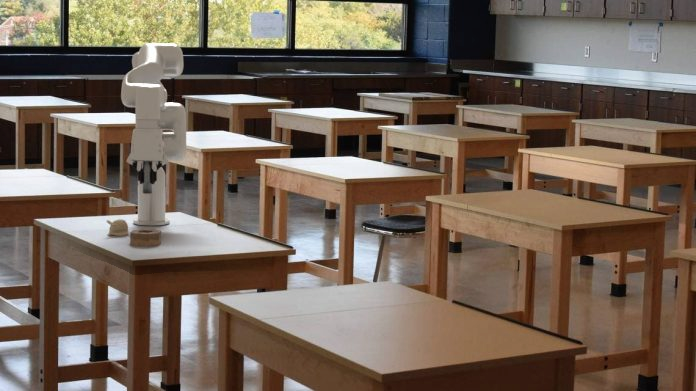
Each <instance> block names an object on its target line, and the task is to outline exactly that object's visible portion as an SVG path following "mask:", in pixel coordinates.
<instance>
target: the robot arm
mask: <svg viewBox="0 0 696 391" xmlns="http://www.w3.org/2000/svg"><path fill="white" fill-rule="evenodd" d="M131 64H132V69H131V70H130V71H128V72H127V73H126V74H125V76H124V77H123V79H122V81H121V82H122V83H121V93H120V99H121V102H122V104H123V105H124V106H125V107H127V108H135V128H133V131H132V135H131V144H130V153H129V155H128V157H127V159H126V163H128V164H129V165H131V166H133V167H134V169H135V170H137V218H134V219H133V224H134V225H137V226H139V225H140V226H149V227H150V226H155V227H156V226H164V225H168V224H170V223H171V221H170V219H169V218H166V172H165V170H164V169H163V166H164V165H167V164H169V162H180V161H183V160H184V159H185V158H186V154H187V112H186V108H185V106H184V105H183V104H181V103H179V102H167V101H168V92H167V89H166V88H165V87H164V85H163V83H162V82H161V80H162V79H163V77H172V78H173V77H180V76H181V74H183V72H184V71H183V70H184V54H183V50H182V48H181V47H180V46H179V45H178V44H175V43H167V42H166V43H163V42H162V43H161V42H158V43H156V42H151V43H149V42H148V43H145V44H143V45H142V46H141V47H140V48H139V51H137V52H135V53H134V54H133V55H132V58H131ZM164 131H172V133H164ZM143 161H152V172H151V184H152V193H151V194H144V193H143Z"/></svg>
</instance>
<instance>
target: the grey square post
mask: <svg viewBox="0 0 696 391" xmlns="http://www.w3.org/2000/svg"><path fill="white" fill-rule="evenodd" d="M151 172H152V161H143V193H144V194H151V193H152V184H151Z"/></svg>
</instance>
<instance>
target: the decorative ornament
mask: <svg viewBox="0 0 696 391" xmlns="http://www.w3.org/2000/svg"><path fill="white" fill-rule="evenodd" d="M106 223H107V224H109V225H110V227H109V231H108V233H107V236H108V235H109V236H110V235H111V236H118V237H123V236H126V235H128V234H130V232H129V225H128V222H127V221H126V220H125V219H123V218H122V219H121V218H120V219H114V220H113V221H110V220H109V219H106Z"/></svg>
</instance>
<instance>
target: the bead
mask: <svg viewBox="0 0 696 391" xmlns="http://www.w3.org/2000/svg"><path fill="white" fill-rule="evenodd" d="M129 234H130V235H129V237H130V238H129V241H130V242H129V245H130V246H133V247H134V246H135V247H149V248H150V247H157V246H160V245H161V243H162V230H159V229H155V228H152V229H149V228H146V229H145V228H140V229H133V230H131V231H130V232H129Z"/></svg>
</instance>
